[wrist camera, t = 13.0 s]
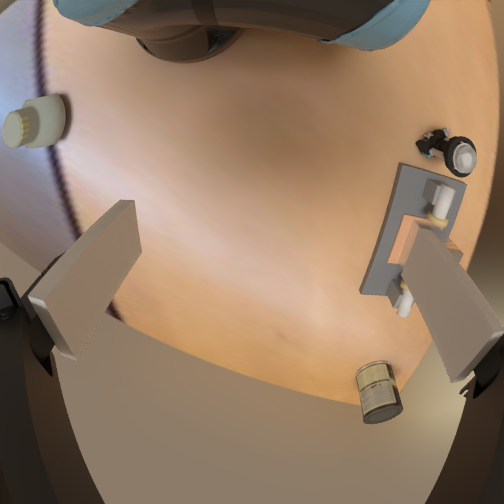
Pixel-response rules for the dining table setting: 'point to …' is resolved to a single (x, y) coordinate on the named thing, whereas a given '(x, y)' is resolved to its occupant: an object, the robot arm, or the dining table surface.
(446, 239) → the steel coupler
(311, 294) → the dining table surface
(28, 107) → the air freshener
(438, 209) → the coupling stand
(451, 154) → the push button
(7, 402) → the robot arm
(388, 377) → the coffee can
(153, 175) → the dining table surface
